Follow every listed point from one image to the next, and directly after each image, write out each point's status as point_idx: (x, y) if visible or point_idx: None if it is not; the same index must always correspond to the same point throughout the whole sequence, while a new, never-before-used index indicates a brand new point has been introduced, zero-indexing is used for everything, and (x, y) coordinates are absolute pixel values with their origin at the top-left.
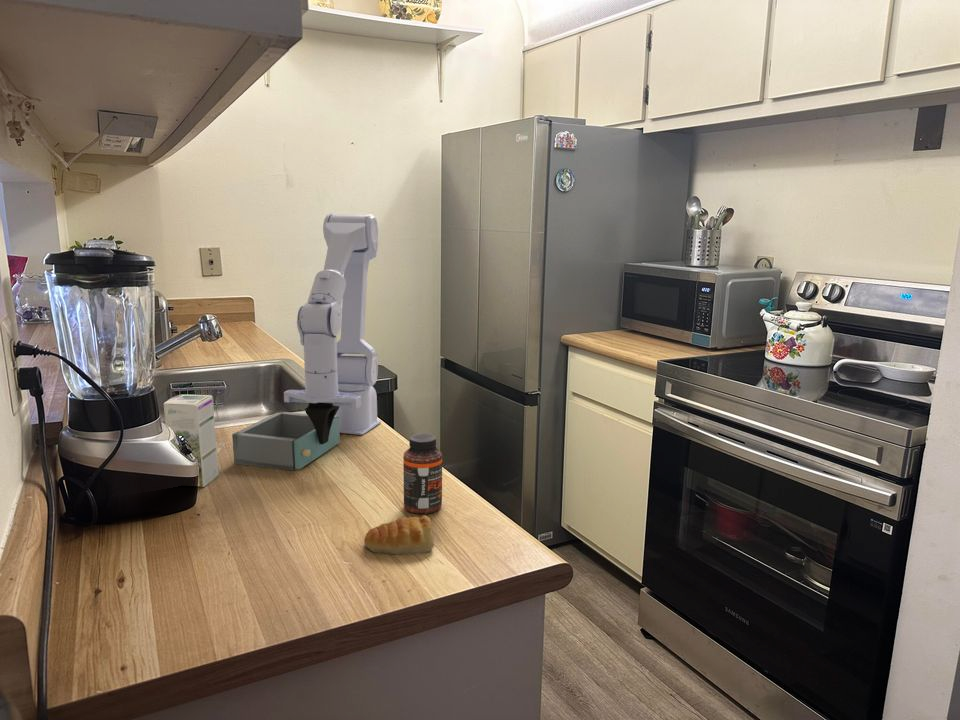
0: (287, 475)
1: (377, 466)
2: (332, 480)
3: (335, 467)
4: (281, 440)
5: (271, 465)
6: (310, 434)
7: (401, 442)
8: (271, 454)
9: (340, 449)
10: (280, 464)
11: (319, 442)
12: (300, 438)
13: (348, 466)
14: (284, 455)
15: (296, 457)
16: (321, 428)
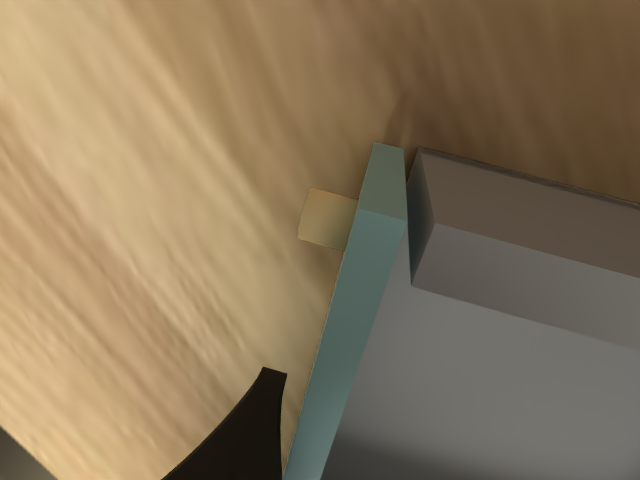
0: (439, 67)
1: (5, 232)
2: (125, 4)
3: (193, 214)
4: (561, 256)
5: (584, 193)
6: (306, 395)
7: (54, 473)
8: (617, 221)
9: None
10: (517, 178)
11: (281, 378)
12: (361, 299)
13: (135, 229)
14: (496, 192)
15: (390, 167)
16: (213, 454)
